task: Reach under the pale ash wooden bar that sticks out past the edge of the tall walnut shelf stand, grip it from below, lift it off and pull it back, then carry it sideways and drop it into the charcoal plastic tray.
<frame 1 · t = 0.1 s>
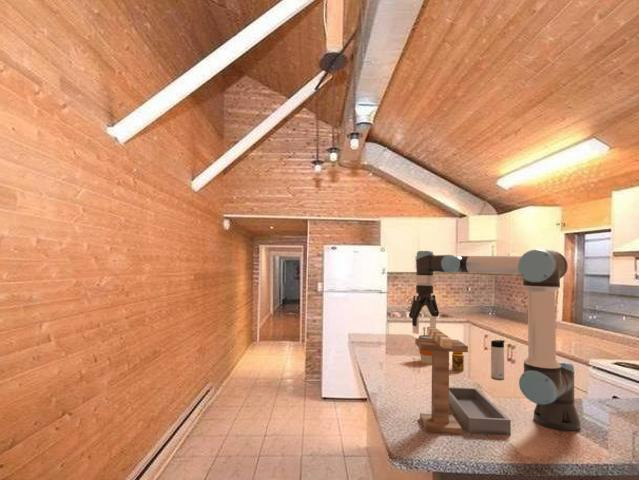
hand: (424, 332, 178), 28 cm above the countertop, tool pointing down, fingers open, 13 cm apart
shelf stand: (439, 426, 142), on the countertop
travel mug: (498, 379, 204), on the countertop
ash bar: (438, 340, 147), point 30 cm above the countertop, touching shelf stand
tray: (473, 414, 154), on the countertop
reusable coffee cup: (428, 362, 237), on the countertop
condiment: (456, 370, 220), on the countertop
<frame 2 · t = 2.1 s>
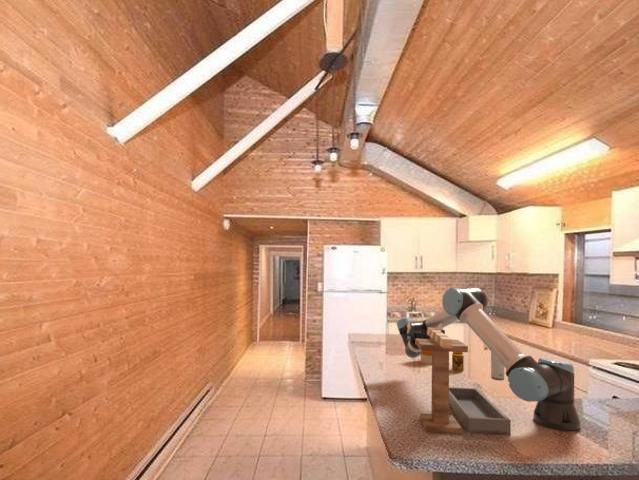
hand: (425, 325, 171), 32 cm above the countertop, tool pointing upward, fingers open, 13 cm apart
nothing on the countertop moved.
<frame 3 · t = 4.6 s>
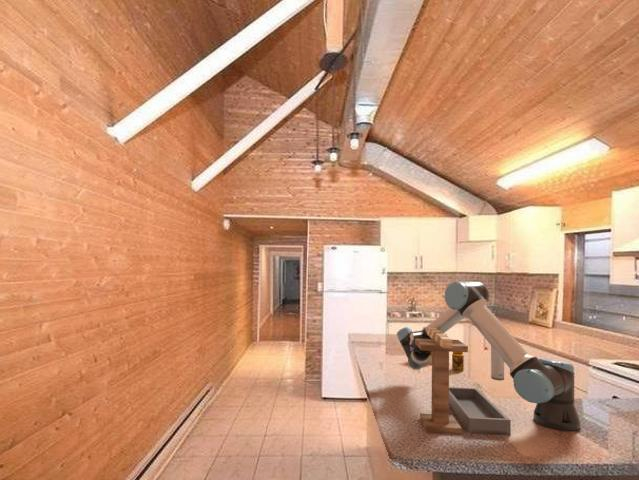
hand: (429, 336, 160), 29 cm above the countertop, tool pointing upward, fingers open, 13 cm apart
nothing on the countertop moved.
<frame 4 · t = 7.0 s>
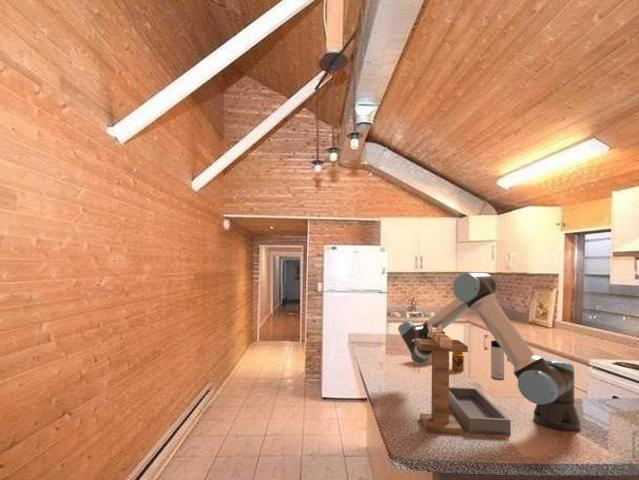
hand: (435, 327, 151), 34 cm above the countertop, tool pointing upward, fingers closed on ash bar, 3 cm apart
ash bar: (438, 340, 147), point 30 cm above the countertop, touching gripper, shelf stand
everything else where it was.
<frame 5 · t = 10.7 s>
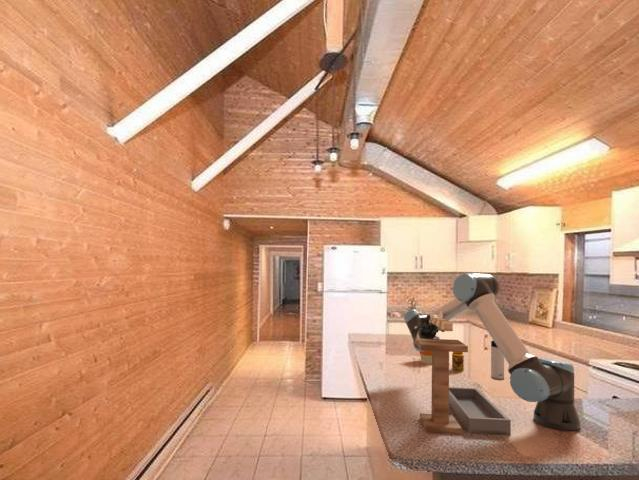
hand: (437, 313, 162), 38 cm above the countertop, tool pointing upward, fingers closed on ash bar, 3 cm apart
ash bar: (439, 325, 157), point 34 cm above the countertop, touching gripper
everything else where it was.
when the fingers open (27 cm above the countertop, at t = 14.5 s): ash bar drops 21 cm, resting on tray.
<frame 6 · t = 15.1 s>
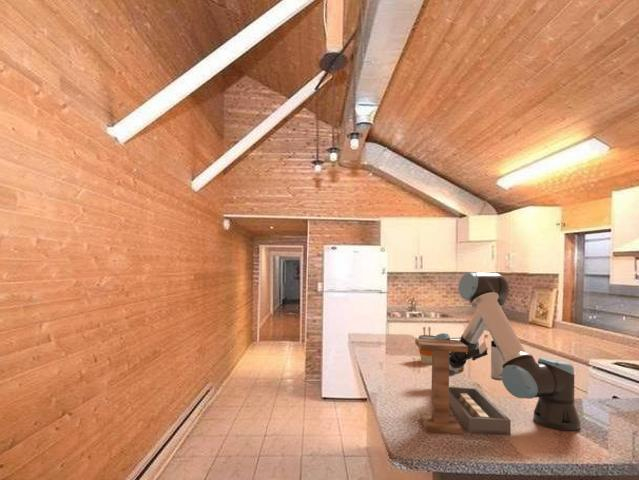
hand: (468, 344, 161), 26 cm above the countertop, tool pointing upward, fingers open, 12 cm apart
ash bar: (473, 411, 154), point 1 cm above the countertop, touching tray
everything else where it was.
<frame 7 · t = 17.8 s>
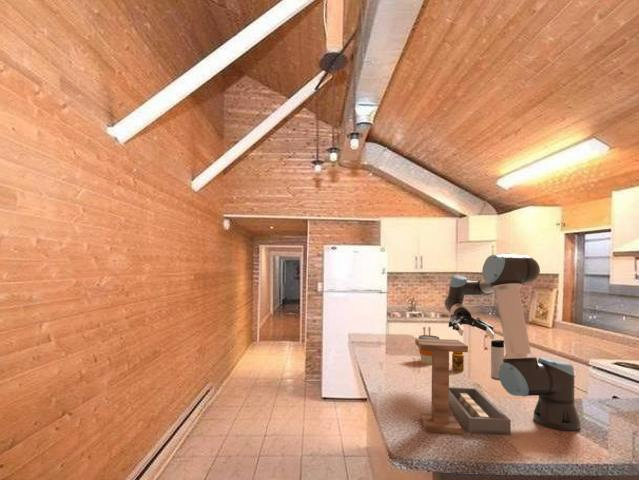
hand: (477, 334, 170), 29 cm above the countertop, tool tilted 75°, fingers open, 13 cm apart
nothing on the countertop moved.
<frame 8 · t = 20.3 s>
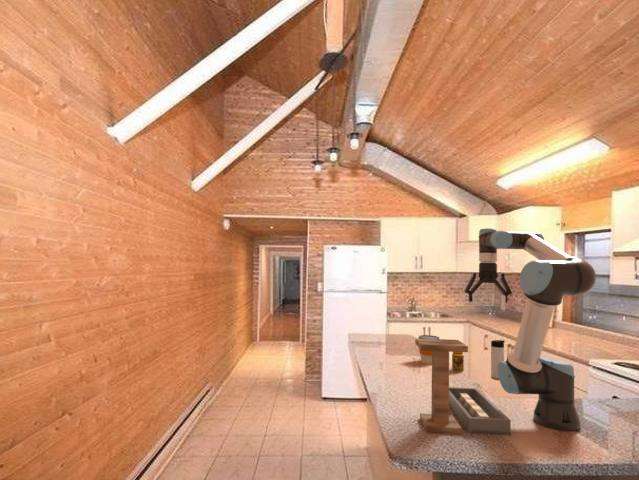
hand: (487, 309, 178), 39 cm above the countertop, tool pointing down, fingers open, 13 cm apart
nothing on the countertop moved.
at the end: ash bar inside the target area on the tray (0.4 cm from its centre), point 1.0 cm above the tray's base; ash bar touching tray; the gripper is holding nothing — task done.
